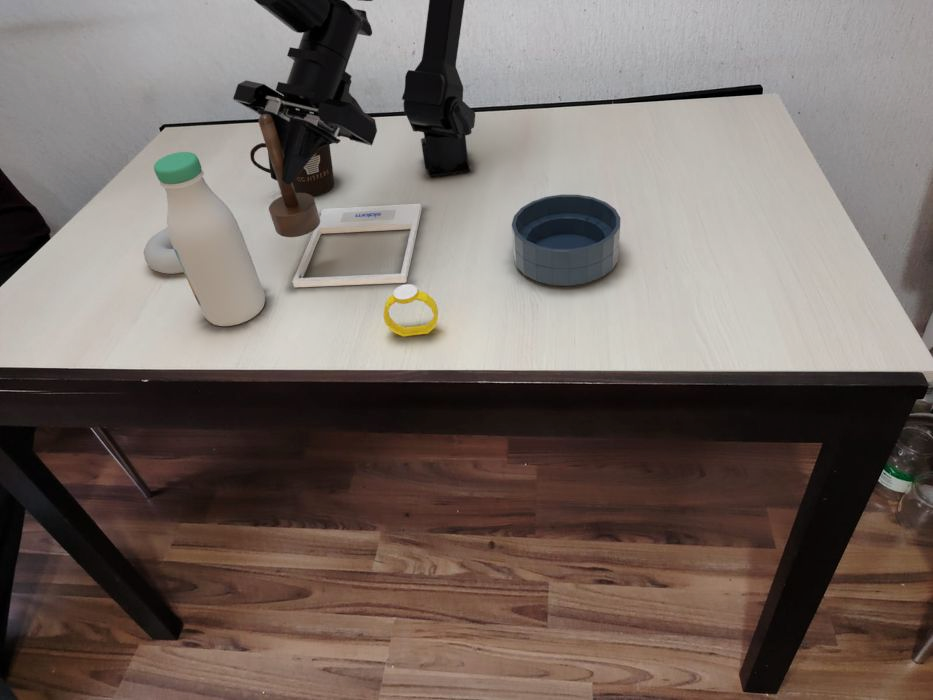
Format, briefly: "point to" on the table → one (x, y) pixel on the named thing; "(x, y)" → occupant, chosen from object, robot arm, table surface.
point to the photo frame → (359, 222)
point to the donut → (162, 254)
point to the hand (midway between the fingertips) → (280, 181)
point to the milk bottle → (208, 244)
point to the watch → (405, 296)
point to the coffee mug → (309, 172)
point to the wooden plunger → (287, 192)
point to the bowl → (566, 239)
